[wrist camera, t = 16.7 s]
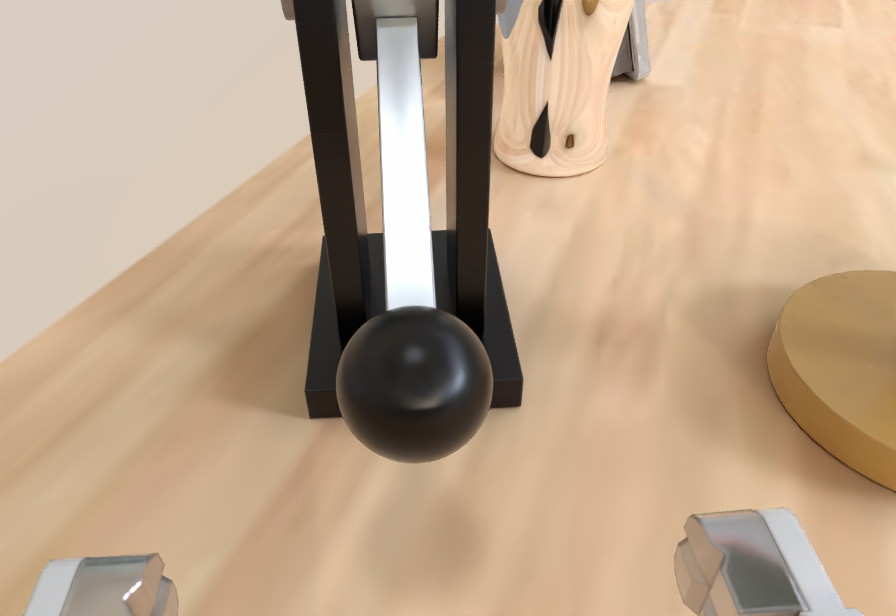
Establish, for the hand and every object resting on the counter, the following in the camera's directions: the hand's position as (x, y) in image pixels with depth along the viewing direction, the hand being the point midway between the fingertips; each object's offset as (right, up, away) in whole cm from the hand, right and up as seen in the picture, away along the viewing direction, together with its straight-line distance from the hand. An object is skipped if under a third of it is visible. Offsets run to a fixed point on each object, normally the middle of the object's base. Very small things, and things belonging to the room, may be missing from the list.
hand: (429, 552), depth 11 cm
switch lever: (-1, +7, +8) cm, 10 cm away
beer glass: (+6, +12, +27) cm, 30 cm away
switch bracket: (-1, +3, +16) cm, 16 cm away
